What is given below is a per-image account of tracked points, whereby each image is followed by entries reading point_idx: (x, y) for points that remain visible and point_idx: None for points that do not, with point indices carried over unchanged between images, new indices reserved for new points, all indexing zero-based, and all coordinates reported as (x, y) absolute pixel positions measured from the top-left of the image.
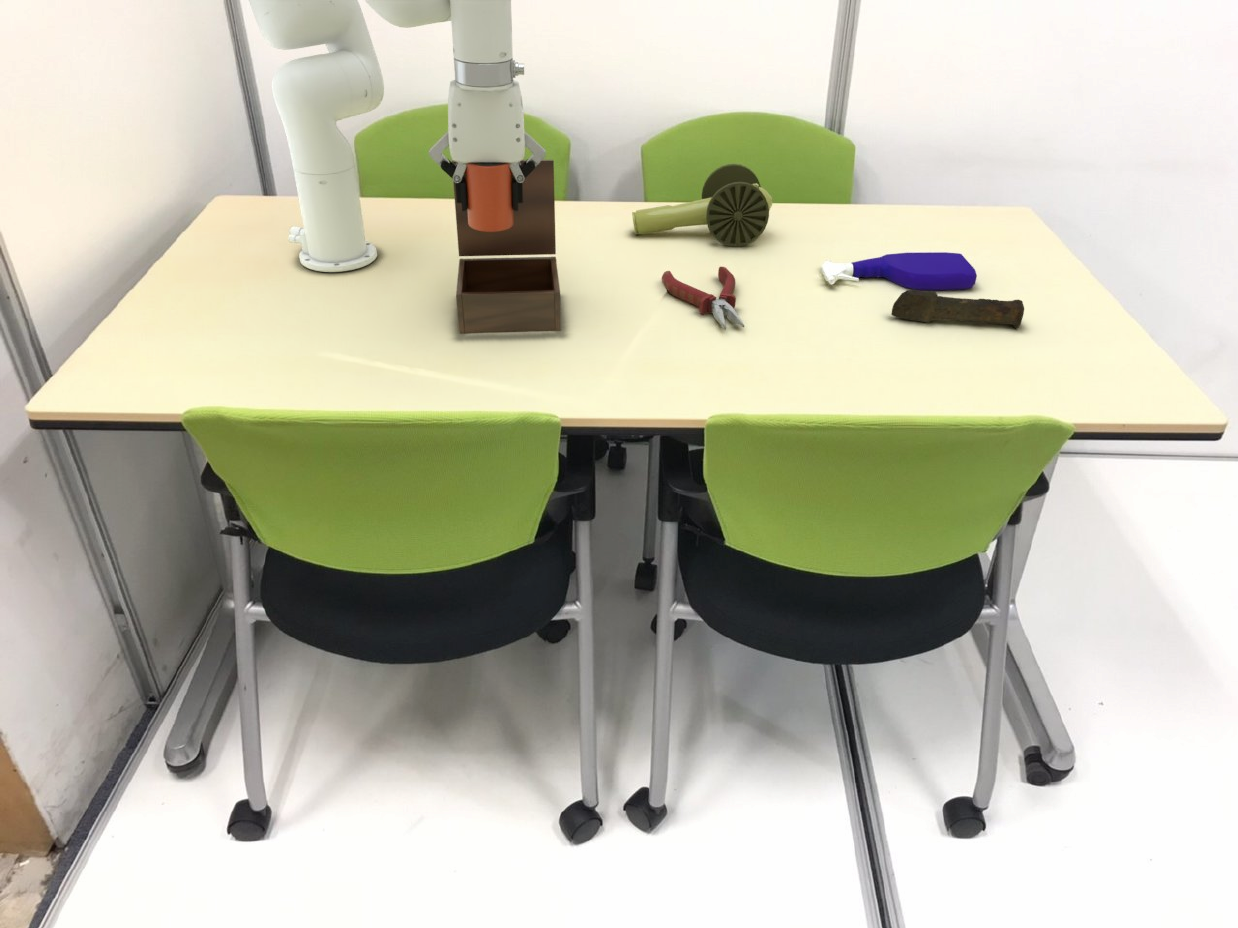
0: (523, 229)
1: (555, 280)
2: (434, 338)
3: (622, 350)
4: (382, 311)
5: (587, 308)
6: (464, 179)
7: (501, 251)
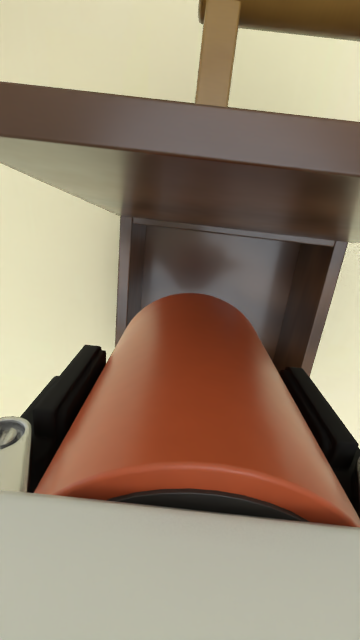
0: (298, 230)
1: (307, 362)
2: (95, 343)
3: (346, 421)
4: (4, 235)
5: (349, 285)
6: (57, 446)
7: (221, 226)
